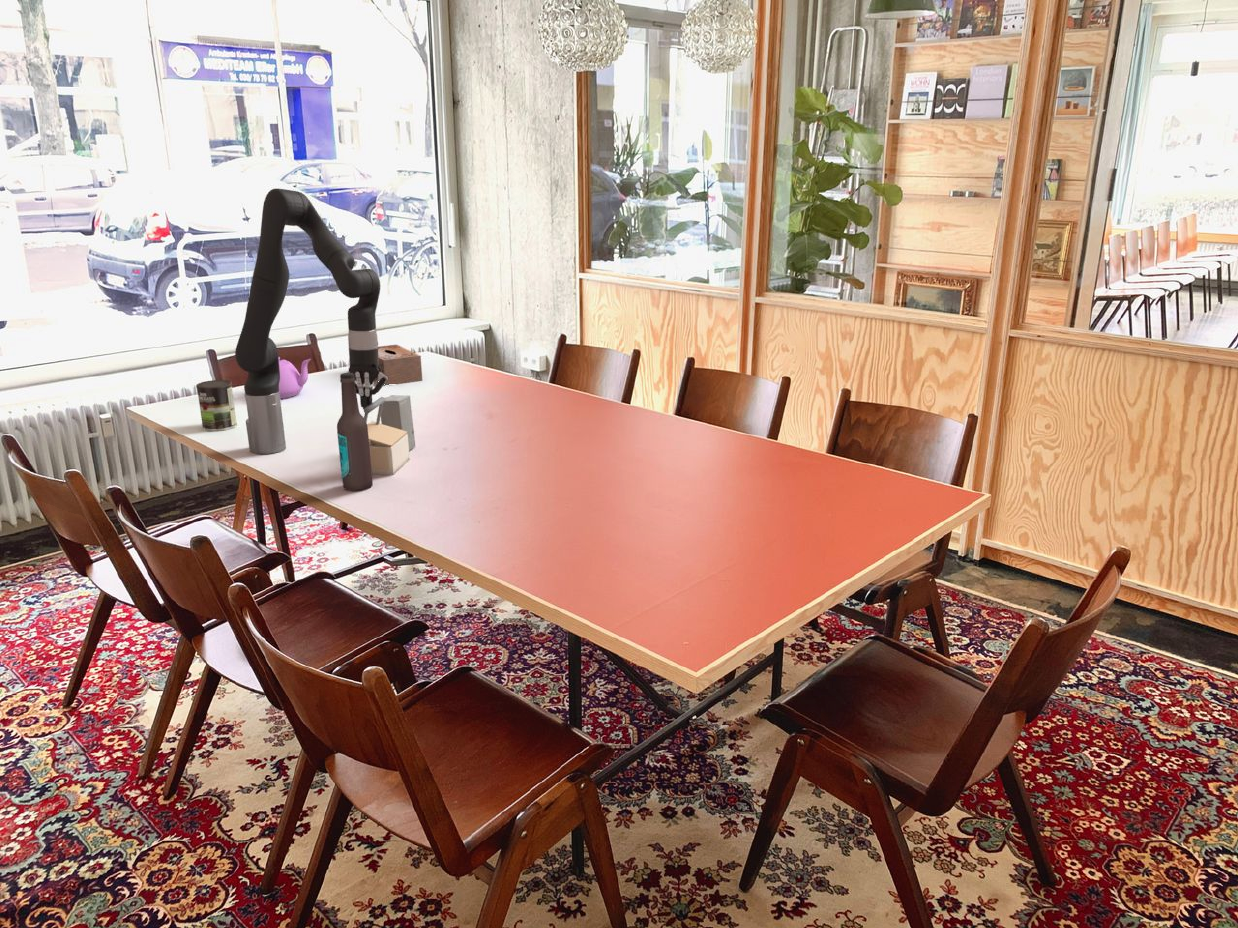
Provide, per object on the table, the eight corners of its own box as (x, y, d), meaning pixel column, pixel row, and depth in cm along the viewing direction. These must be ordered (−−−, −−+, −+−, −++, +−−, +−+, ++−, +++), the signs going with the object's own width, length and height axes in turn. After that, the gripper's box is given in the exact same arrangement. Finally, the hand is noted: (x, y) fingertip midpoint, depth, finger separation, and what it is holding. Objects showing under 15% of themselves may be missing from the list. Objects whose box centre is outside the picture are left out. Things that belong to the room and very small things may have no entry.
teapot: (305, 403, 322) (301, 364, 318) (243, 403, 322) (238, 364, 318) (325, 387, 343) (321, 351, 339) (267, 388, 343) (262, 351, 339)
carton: (353, 473, 251) (351, 447, 248) (372, 457, 264) (370, 432, 261) (393, 475, 249) (390, 448, 247) (410, 459, 263) (408, 433, 260)
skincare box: (405, 455, 266) (400, 401, 261) (381, 453, 268) (377, 400, 263) (416, 446, 274) (412, 394, 269) (394, 445, 275) (389, 393, 270)
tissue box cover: (363, 373, 366) (360, 348, 363) (398, 369, 374) (396, 344, 370) (385, 386, 346) (383, 360, 343) (422, 381, 353) (420, 355, 350)
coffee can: (220, 433, 288) (214, 388, 284) (195, 429, 292) (188, 385, 287) (244, 424, 297) (239, 381, 293) (220, 421, 301) (213, 378, 296)
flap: (353, 435, 248) (359, 406, 245) (371, 422, 260) (376, 394, 257) (390, 446, 248) (396, 417, 245) (407, 433, 260) (412, 405, 257)
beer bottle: (341, 484, 243) (329, 372, 234) (370, 480, 246) (360, 369, 236) (345, 493, 237) (333, 378, 227) (375, 489, 239) (364, 375, 230)
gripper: (333, 347, 243) (337, 410, 249) (382, 350, 242) (385, 414, 248) (344, 341, 250) (348, 403, 256) (392, 344, 249) (395, 406, 255)
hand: (366, 408), depth 252 cm, fingers closed
